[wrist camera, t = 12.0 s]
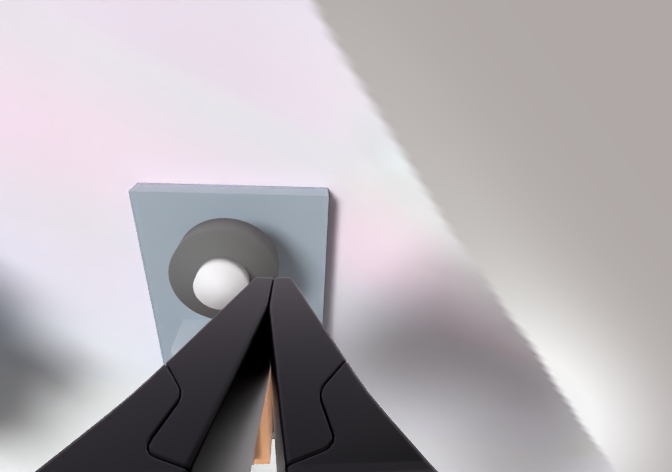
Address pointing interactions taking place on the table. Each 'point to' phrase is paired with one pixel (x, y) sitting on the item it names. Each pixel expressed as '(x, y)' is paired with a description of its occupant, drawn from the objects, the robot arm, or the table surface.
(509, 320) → the table surface
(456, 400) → the table surface
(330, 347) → the robot arm
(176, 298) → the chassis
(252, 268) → the wheel
